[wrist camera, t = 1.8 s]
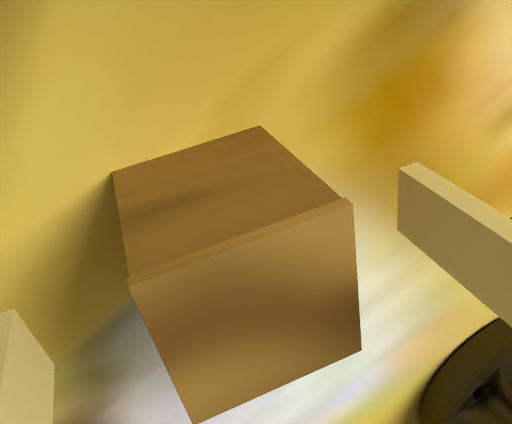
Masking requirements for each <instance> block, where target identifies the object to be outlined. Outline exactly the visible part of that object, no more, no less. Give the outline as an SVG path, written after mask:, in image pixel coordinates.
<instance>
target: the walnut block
mask: <svg viewBox="0 0 512 424" xmlns="http://www.w3.org/2000/svg"><path fill="white" fill-rule="evenodd" d="M112 177H113V183H114V189H115V195H116V201H117V207H118V213H119V219H120V225H121V231H122V237H123V244H124V250H125V256H126V262H127V268H128V274H129V276H128V277H127V284H128V288H129V290H130V292H131V295H132V297H133V299H134V301H135V303H136V305H137V307H138V309H139V311H140V314H141V316H142V318H143V320H144V322H145V324H146V326H147V328H148V331H149V333H150V335H151V337H152V339H153V341H154V343H155V345H156V348H157V350H158V352H159V354H160V356H161V358H162V360H163V362H164V365H165V367H166V369H167V371H168V373H169V375H170V377H171V379H172V381H173V384H174V386H175V388H176V390H177V392H178V394H179V396H180V398H181V401H182V403H183V405H184V407H185V409H186V411H187V413H188V415H189V418H190V420H191V422H192V424H198V423H201V422H203V421H205V420H207V419H210V418H212V417H214V416H216V415H218V414H221V413H223V412H225V411H227V410H230V409H232V408H234V407H236V406H239V405H241V404H243V403H245V402H247V401H250V400H252V399H254V398H256V397H259V396H261V395H263V394H265V393H268V392H270V391H272V390H274V389H276V388H279V387H281V386H283V385H285V384H288V383H290V382H292V381H294V380H297V379H299V378H301V377H303V376H305V375H308V374H310V373H312V372H314V371H317V370H319V369H321V368H323V367H326V366H328V365H330V364H332V363H334V362H337V361H339V360H341V359H343V358H346V357H348V356H350V355H352V354H354V353H357V352H359V351H361V350H362V348H361V331H360V315H359V298H358V281H357V265H356V248H355V232H354V215H353V204H352V203H351V202H350V201H349V200H348V199H346V198H341V197H340V196H339V195H338V194H337V193H336V192H335V191H333V190H332V189H331V188H330V187H329V186H328V185H327V184H326V183H324V182H323V181H322V180H321V179H320V178H319V177H318V176H317V175H315V174H314V173H313V172H312V171H311V170H310V169H309V168H307V167H306V166H305V165H304V164H303V163H302V162H301V161H300V160H298V159H297V158H296V157H295V156H294V155H293V154H292V153H290V152H289V151H288V150H287V149H286V148H285V147H284V146H283V145H281V144H280V143H279V142H278V141H277V140H276V139H275V138H274V137H272V136H271V135H270V134H269V133H268V132H267V131H266V130H264V129H263V128H262V127H261V126H257V127H254V128H251V129H247V130H244V131H241V132H238V133H235V134H231V135H228V136H225V137H222V138H219V139H215V140H212V141H209V142H206V143H203V144H199V145H196V146H193V147H190V148H187V149H184V150H180V151H177V152H174V153H171V154H168V155H164V156H161V157H158V158H155V159H152V160H148V161H145V162H142V163H139V164H136V165H132V166H129V167H126V168H123V169H120V170H117V171H113V172H112Z"/></svg>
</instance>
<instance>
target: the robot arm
mask: <svg viewBox="0 0 512 424" xmlns="http://www.w3.org/2000/svg"><path fill="white" fill-rule="evenodd" d="M397 230H398V231H399V232H401V233H402V234H403V235H404V236H405V237H406V238H408V239H409V240H410V241H411V242H412V243H413V244H415V245H416V246H417V247H418V248H419V249H420V250H422V251H423V252H424V253H425V254H426V255H427V256H429V257H430V258H431V259H432V260H433V261H435V262H436V263H437V264H438V265H439V266H440V267H442V268H443V269H444V270H445V271H446V272H447V273H449V274H450V275H451V276H452V277H453V278H454V279H456V280H457V281H458V282H459V283H460V284H461V285H463V286H464V287H465V288H466V289H467V290H468V291H470V292H471V293H472V294H473V295H474V296H475V297H477V298H478V299H479V300H480V301H481V302H482V303H484V304H485V305H486V306H487V307H488V308H490V309H491V310H492V311H493V312H494V313H495V314H497V315H498V316H499V317H500V318H501V319H499V320H498V321H496V322H494V323H493V324H491V325H489V326H488V327H486V328H485V329H484V330H482V331H481V332H479V333H478V334H477V335H475V336H474V337H473V338H472V339H470V340H469V341H468V342H467V343H466V344H465V345H464V346H462V347H461V348H460V349H459V350H458V351H457V352H456V353H455V354H454V355H453V356H452V357H451V358H450V359H449V360H448V362H447V363H446V364H445V365H444V366H443V367H442V369H441V370H440V371H439V372H438V374H437V375H436V376H435V378H434V379H433V381H432V382H431V384H430V386H429V387H428V389H427V391H426V393H425V395H424V397H423V400H422V402H421V406H420V410H419V424H512V217H511V218H509V217H507V216H505V215H504V214H502V213H500V212H499V211H497V210H496V209H494V208H492V207H491V206H489V205H487V204H486V203H484V202H482V201H481V200H479V199H477V198H476V197H474V196H473V195H471V194H469V193H468V192H466V191H464V190H463V189H461V188H459V187H458V186H456V185H455V184H453V183H451V182H450V181H448V180H446V179H445V178H443V177H441V176H440V175H438V174H436V173H435V172H433V171H432V170H430V169H428V168H427V167H425V166H423V165H422V164H420V163H418V162H415V163H412V164H410V165H407V166H404V167H401V168H399V179H398V215H397ZM54 371H55V365H54V363H53V362H52V361H51V359H50V358H49V356H48V355H47V354H46V352H45V351H44V349H43V348H42V347H41V345H40V344H39V343H38V341H37V340H36V338H35V337H34V336H33V334H32V333H31V331H30V330H29V329H28V327H27V326H26V325H25V323H24V322H23V320H22V319H21V318H20V316H19V315H18V313H17V312H16V311H15V309H14V308H12V309H10V310H7V311H4V312H1V313H0V424H53V398H54Z"/></svg>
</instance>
